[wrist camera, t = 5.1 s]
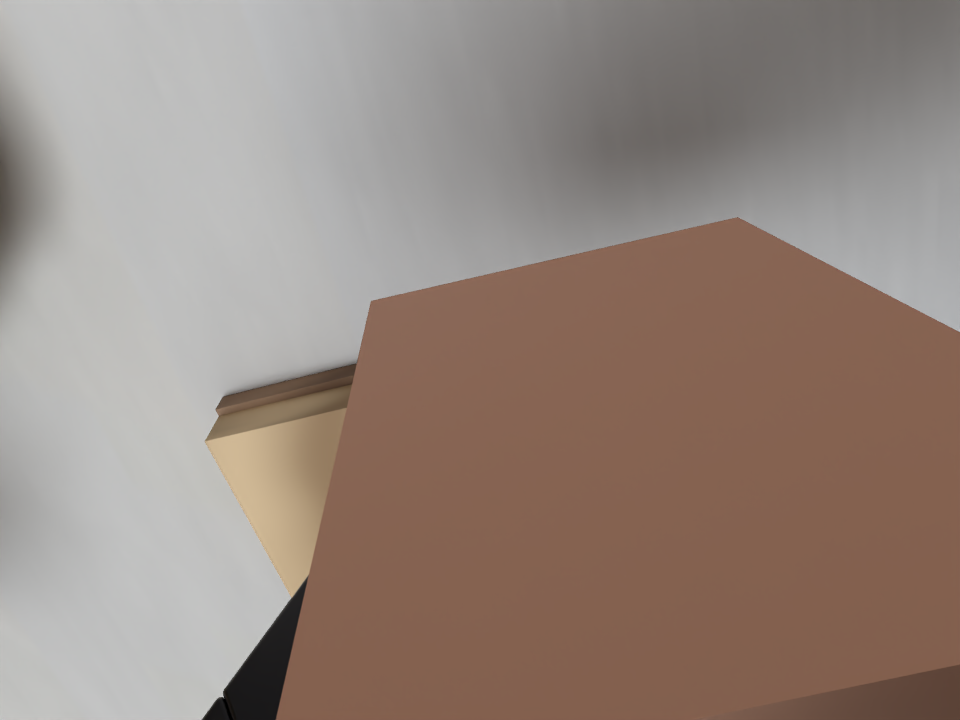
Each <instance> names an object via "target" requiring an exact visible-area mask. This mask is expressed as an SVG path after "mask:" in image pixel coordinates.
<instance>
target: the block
mask: <svg viewBox="0 0 960 720" xmlns="http://www.w3.org/2000/svg"><path fill="white" fill-rule="evenodd" d="M276 720H960V332H958V331H956V330H954V329H952V328H950V327H948V326H947V325H945V324H943V323H941V322H939V321H937V320H935V319H933V318H931V317H929V316H927V315H925V314H923V313H921V312H919V311H918V310H916V309H914V308H912V307H910V306H908V305H906V304H904V303H902V302H900V301H898V300H896V299H894V298H892V297H891V296H889V295H887V294H885V293H883V292H881V291H879V290H877V289H875V288H873V287H871V286H869V285H867V284H865V283H864V282H862V281H860V280H858V279H856V278H854V277H852V276H850V275H848V274H846V273H844V272H842V271H840V270H838V269H836V268H835V267H833V266H831V265H829V264H827V263H825V262H823V261H821V260H819V259H817V258H815V257H813V256H811V255H809V254H808V253H806V252H804V251H802V250H800V249H798V248H796V247H794V246H792V245H790V244H788V243H786V242H784V241H782V240H780V239H779V238H777V237H775V236H773V235H771V234H769V233H767V232H765V231H763V230H761V229H759V228H757V227H755V226H753V225H752V224H750V223H748V222H746V221H744V220H742V219H740V218H738V217H737V218H732V219H728V220H724V221H719V222H715V223H710V224H706V225H702V226H697V227H693V228H689V229H684V230H680V231H675V232H671V233H667V234H662V235H658V236H654V237H649V238H645V239H640V240H636V241H632V242H627V243H623V244H619V245H614V246H610V247H605V248H601V249H597V250H592V251H588V252H584V253H579V254H575V255H570V256H566V257H562V258H557V259H553V260H548V261H544V262H540V263H535V264H531V265H527V266H522V267H518V268H513V269H509V270H505V271H500V272H496V273H492V274H487V275H483V276H478V277H474V278H470V279H465V280H461V281H457V282H452V283H448V284H443V285H439V286H435V287H430V288H426V289H422V290H417V291H413V292H408V293H404V294H400V295H395V296H391V297H387V298H382V299H378V300H373V301H371V303H370V308H369V312H368V317H367V321H366V325H365V330H364V334H363V339H362V343H361V347H360V352H359V356H358V361H357V365H356V369H355V374H354V378H353V383H352V387H351V391H350V396H349V400H348V405H347V409H346V413H345V418H344V422H343V427H342V431H341V435H340V440H339V444H338V449H337V453H336V457H335V462H334V466H333V471H332V475H331V479H330V484H329V488H328V493H327V497H326V501H325V506H324V510H323V515H322V519H321V523H320V528H319V532H318V537H317V541H316V545H315V550H314V554H313V559H312V563H311V567H310V572H309V576H308V581H307V585H306V589H305V594H304V598H303V603H302V607H301V611H300V616H299V620H298V625H297V629H296V633H295V638H294V642H293V647H292V651H291V655H290V660H289V664H288V669H287V673H286V677H285V682H284V686H283V691H282V695H281V699H280V704H279V708H278V713H277V717H276Z"/></svg>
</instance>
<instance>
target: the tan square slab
mask: <svg viewBox="0 0 960 720" xmlns="http://www.w3.org/2000/svg"><path fill="white" fill-rule="evenodd" d="M351 387H352V384H350V385H346V386H342V387H338V388H334V389H329V390H325V391H321V392H317V393H313V394H308V395H304V396H300V397H296V398H292V399H288V400H283V401H279V402H275V403H271V404H267V405H262V406H258V407H254V408H250V409H246V410H242V411H238V412H233V413H229V414H225V415H221V416H219V417H218V419H217V421H216V423H215V424H214V426H213V428H212V430H211V431H210V433H209V435H208V437H207V438H206V440H205V443H206V445H207V446H208V448H209V450H210V452H211V454H212V455H213V457H214V459H215V461H216V463H217V464H218V466H219V468H220V470H221V472H222V473H223V475H224V477H225V479H226V481H227V482H228V484H229V486H230V488H231V490H232V491H233V493H234V495H235V497H236V499H237V500H238V502H239V504H240V506H241V508H242V509H243V511H244V513H245V515H246V517H247V518H248V520H249V522H250V524H251V526H252V527H253V529H254V531H255V533H256V534H257V536H258V538H259V540H260V542H261V543H262V545H263V547H264V549H265V551H266V552H267V554H268V556H269V558H270V560H271V561H272V563H273V565H274V567H275V569H276V570H277V572H278V574H279V576H280V578H281V579H282V581H283V583H284V585H285V587H286V588H287V590H288V592H289V594H290V596H291V597H293V595H294V594H295V593H296V591H297V590H298V589H299V587H300V586H301V584H302V583H303V582H304V580H305V579H306V578H307V576H308V575H309V572H310V567H311V563H312V559H313V554H314V550H315V545H316V541H317V537H318V532H319V528H320V523H321V519H322V515H323V510H324V506H325V501H326V497H327V493H328V488H329V484H330V479H331V475H332V471H333V466H334V462H335V457H336V453H337V449H338V444H339V440H340V435H341V431H342V427H343V422H344V418H345V413H346V409H347V405H348V400H349V396H350V391H351Z"/></svg>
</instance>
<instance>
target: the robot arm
mask: <svg viewBox="0 0 960 720" xmlns="http://www.w3.org/2000/svg"><path fill="white" fill-rule="evenodd" d="M308 576H309V575H308ZM308 576H307V578H306V579H305V580H304V582H303V583H302V584H301V586H300V587H299V589H298V590H297V591H296V593H295V594H294V595H293V597H292V598H291V599H290V601H289V602H288V603H287V605H286V606H285V608H284V609H283V610H282V612H281V613H280V614H279V616H278V617H277V618H276V620H275V621H274V623H273V624H272V625H271V627H270V628H269V629H268V631H267V632H266V633H265V635H264V636H263V638H262V639H261V640H260V642H259V643H258V644H257V646H256V647H255V648H254V650H253V651H252V652H251V654H250V655H249V657H248V658H247V659H246V661H245V662H244V663H243V665H242V666H241V667H240V669H239V670H238V672H237V673H236V674H235V676H234V677H233V678H232V680H231V681H230V682H229V684H228V685H227V687H226V688H225V689H224V691H223V696H224V698H223V697H219V698H218V699H217V700H216V701H215V702H214V704H213V705H212V707H211V708H210V709H209V711H208V712H207V713H206V715H205V716H204V717H203V719H202V720H276V717H277V713H278V708H279V704H280V699H281V695H282V691H283V686H284V682H285V677H286V673H287V669H288V664H289V660H290V655H291V651H292V647H293V642H294V638H295V633H296V629H297V625H298V620H299V616H300V611H301V607H302V603H303V598H304V594H305V589H306V585H307V581H308Z"/></svg>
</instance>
